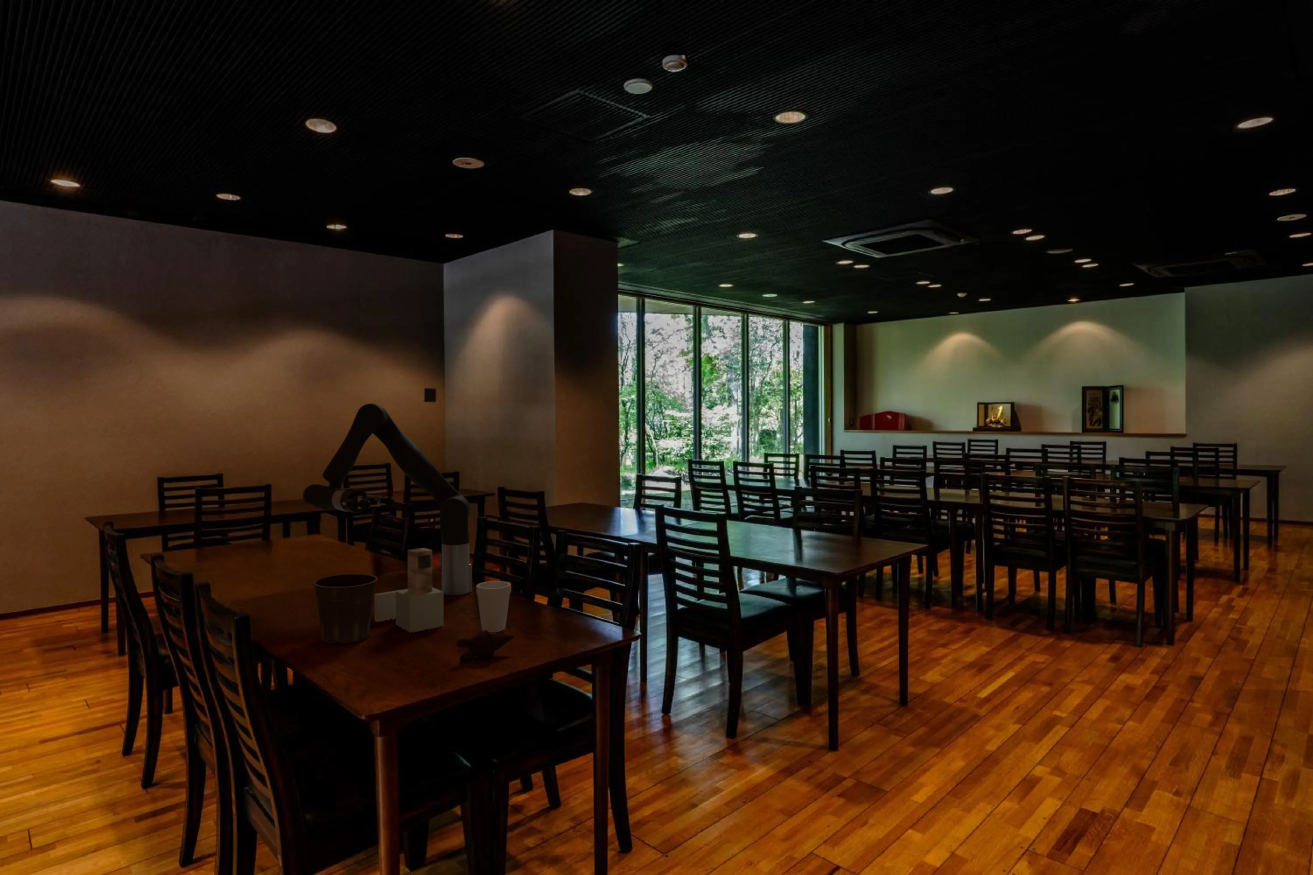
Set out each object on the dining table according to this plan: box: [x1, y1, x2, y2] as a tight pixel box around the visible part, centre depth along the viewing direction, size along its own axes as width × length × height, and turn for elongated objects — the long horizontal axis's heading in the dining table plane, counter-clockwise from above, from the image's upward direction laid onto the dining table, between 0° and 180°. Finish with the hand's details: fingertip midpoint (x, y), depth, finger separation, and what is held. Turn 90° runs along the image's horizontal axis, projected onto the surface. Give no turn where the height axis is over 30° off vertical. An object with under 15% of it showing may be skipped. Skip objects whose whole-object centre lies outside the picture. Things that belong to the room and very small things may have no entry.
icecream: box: [456, 630, 515, 663], centre depth 182 cm, size 7×7×15 cm
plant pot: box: [312, 573, 378, 645], centre depth 196 cm, size 16×16×16 cm
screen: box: [374, 588, 406, 623], centre depth 218 cm, size 16×2×8 cm, turn 132°
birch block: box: [407, 547, 433, 594], centre depth 208 cm, size 5×5×12 cm
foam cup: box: [475, 580, 512, 632], centre depth 204 cm, size 10×9×13 cm
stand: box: [395, 586, 445, 634], centre depth 208 cm, size 10×10×10 cm
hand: (381, 503), depth 222 cm, fingers open, 8 cm apart
